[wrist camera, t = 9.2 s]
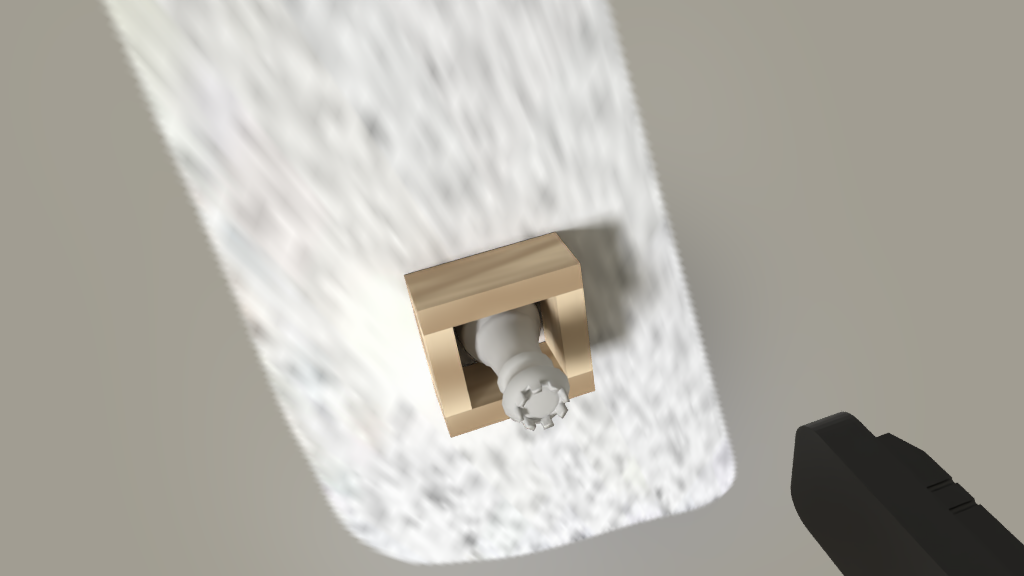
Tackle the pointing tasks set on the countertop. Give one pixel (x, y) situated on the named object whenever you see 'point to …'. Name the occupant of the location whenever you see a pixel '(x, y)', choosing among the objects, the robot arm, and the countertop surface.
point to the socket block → (491, 290)
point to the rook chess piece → (518, 365)
